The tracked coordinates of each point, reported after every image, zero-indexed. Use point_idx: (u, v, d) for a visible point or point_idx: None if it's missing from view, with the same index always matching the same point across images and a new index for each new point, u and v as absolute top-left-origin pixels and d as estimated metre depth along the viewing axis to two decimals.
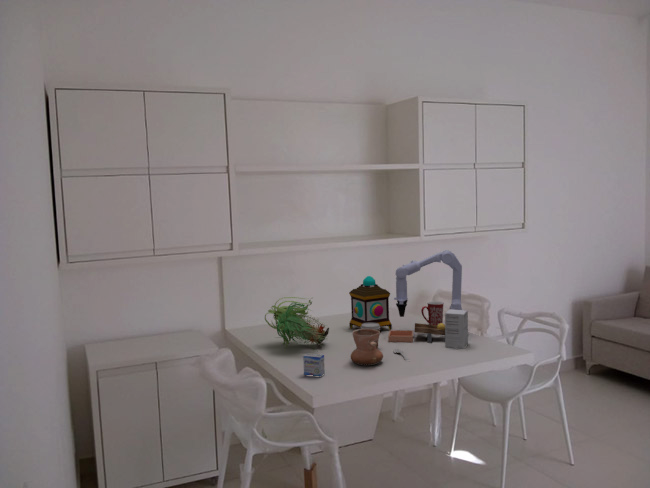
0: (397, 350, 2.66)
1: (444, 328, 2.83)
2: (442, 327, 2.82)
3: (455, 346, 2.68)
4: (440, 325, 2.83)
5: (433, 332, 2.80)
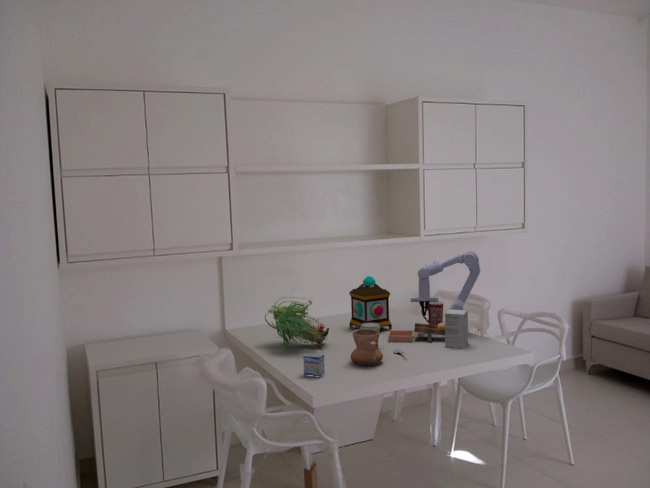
0: (397, 350, 2.66)
1: (444, 328, 2.83)
2: (442, 327, 2.82)
3: (455, 346, 2.68)
4: (440, 325, 2.83)
5: (433, 332, 2.80)
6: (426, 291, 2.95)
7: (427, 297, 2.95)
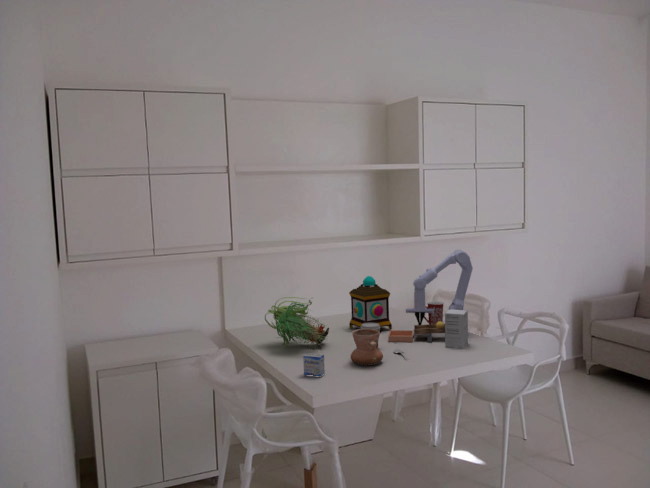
0: (397, 350, 2.66)
1: (443, 325, 2.82)
2: (441, 325, 2.82)
3: (455, 346, 2.68)
4: (438, 323, 2.83)
5: (433, 331, 2.80)
6: (422, 302, 2.90)
7: (422, 308, 2.91)
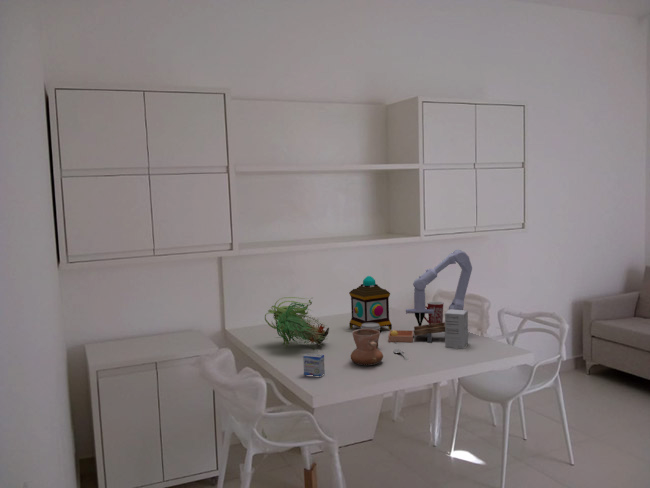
0: (397, 350, 2.66)
1: None
2: (395, 335, 2.87)
3: (455, 346, 2.68)
4: (394, 332, 2.87)
5: (432, 331, 2.80)
6: (421, 303, 2.91)
7: (422, 309, 2.91)
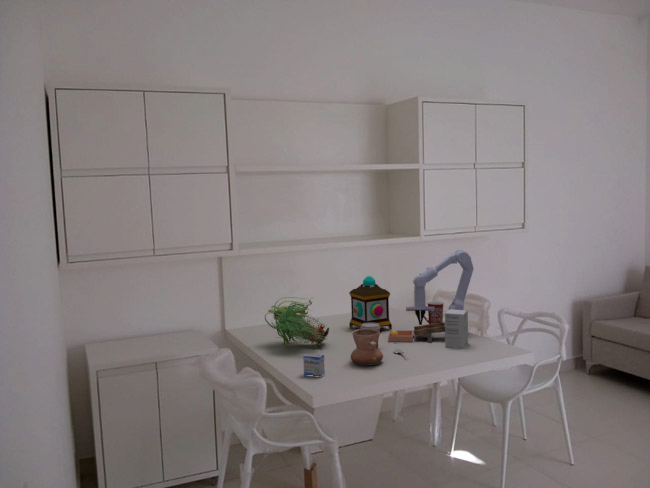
0: (397, 350, 2.66)
1: None
2: (395, 335, 2.87)
3: (455, 346, 2.68)
4: (394, 332, 2.87)
5: (432, 331, 2.80)
6: (422, 300, 2.90)
7: (423, 306, 2.91)
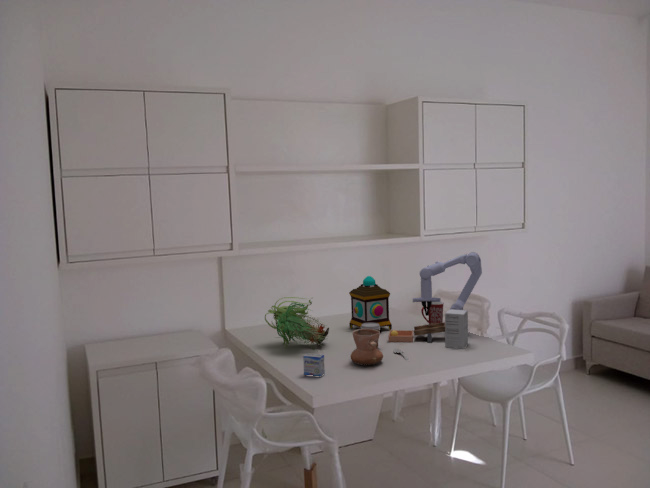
0: (397, 350, 2.66)
1: None
2: (395, 335, 2.87)
3: (455, 346, 2.68)
4: (394, 332, 2.87)
5: (432, 331, 2.80)
6: (428, 291, 2.95)
7: (429, 297, 2.95)
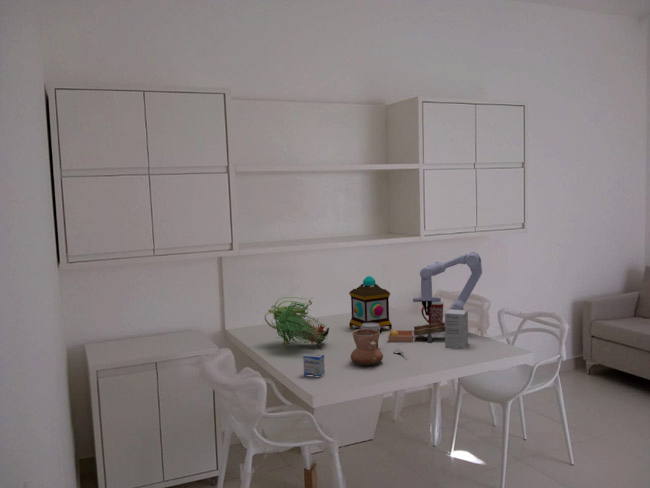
0: (397, 350, 2.66)
1: None
2: (395, 335, 2.87)
3: (455, 346, 2.68)
4: (394, 332, 2.87)
5: (432, 331, 2.80)
6: (428, 291, 2.95)
7: (429, 297, 2.95)
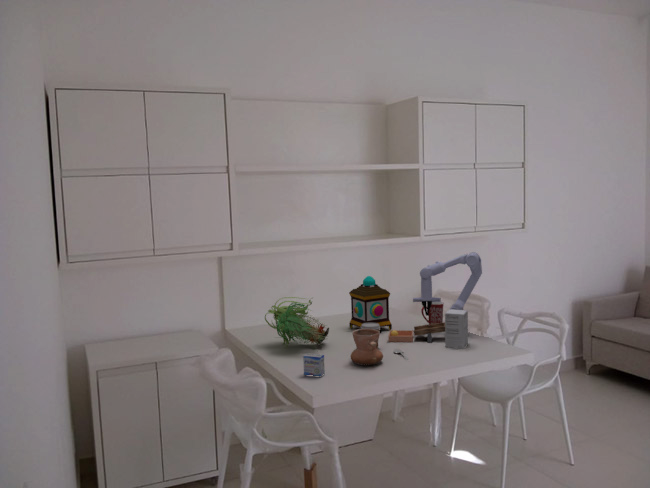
0: (397, 350, 2.66)
1: None
2: (395, 335, 2.87)
3: (455, 346, 2.68)
4: (394, 332, 2.87)
5: (432, 331, 2.80)
6: (428, 291, 2.95)
7: (429, 297, 2.95)
